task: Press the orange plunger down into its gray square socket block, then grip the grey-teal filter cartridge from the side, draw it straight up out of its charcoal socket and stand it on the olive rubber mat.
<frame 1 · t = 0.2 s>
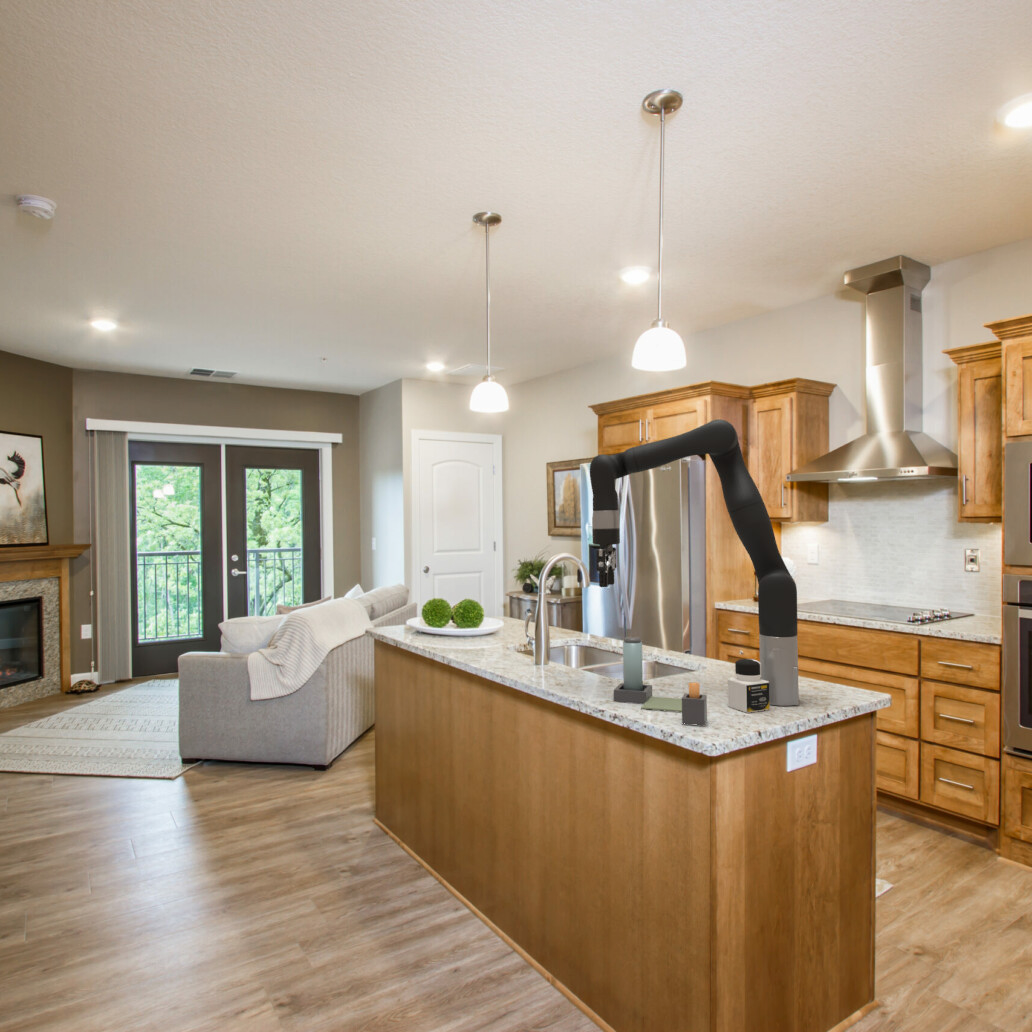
hand: (607, 585, 202), 29 cm above the worktop, tool pointing down, fingers open, 8 cm apart
gray square socket block: (694, 722, 169), on the worktop
filter cartridge: (633, 699, 192), resting in cartridge socket
plunger: (694, 695, 169), point 6 cm above the worktop, slide at 0.0 cm
rubber mat: (669, 705, 185), on the worktop
cartridge socket: (633, 698, 192), on the worktop
medicine bottle: (748, 709, 181), on the worktop
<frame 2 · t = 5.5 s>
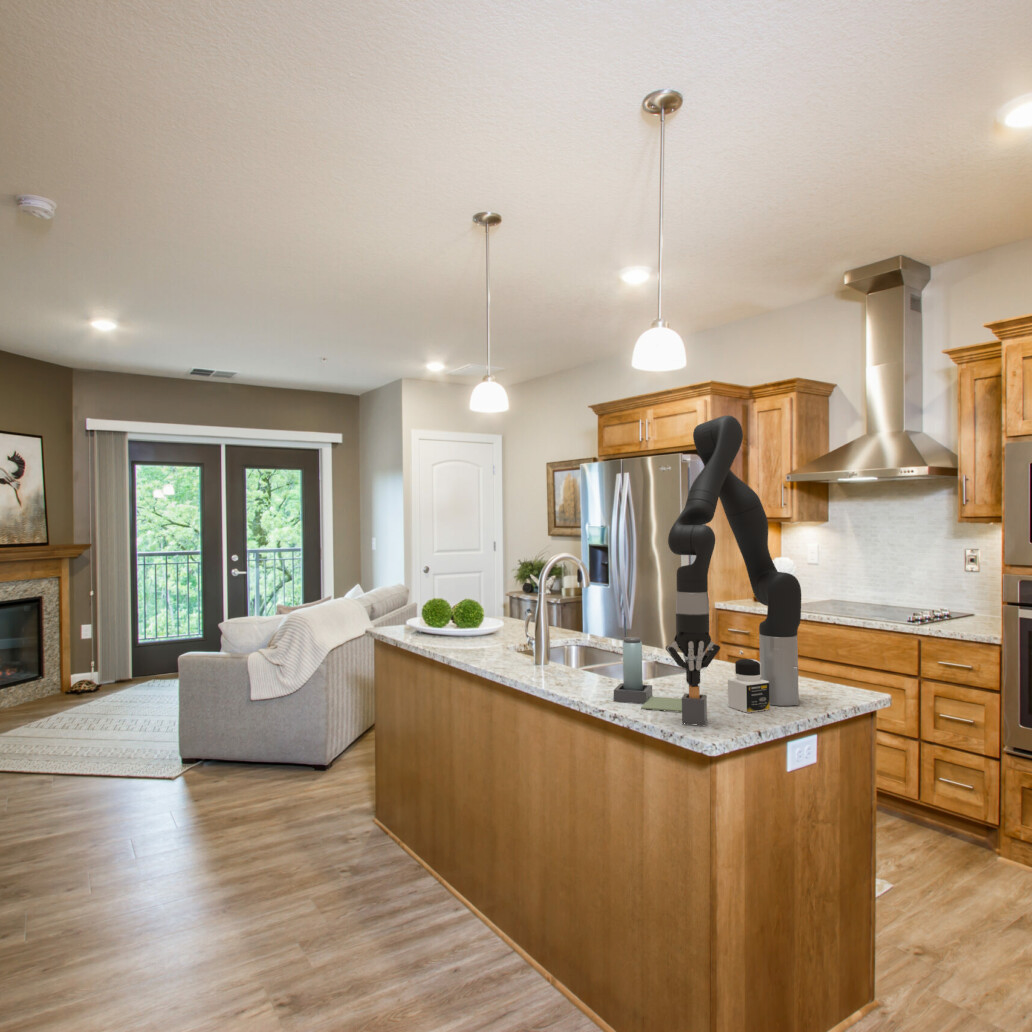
hand: (693, 685, 169), 8 cm above the worktop, tool pointing down, fingers closed
plunger: (694, 698, 169), point 6 cm above the worktop, slide at 0.6 cm, touching gripper
everything else where it was.
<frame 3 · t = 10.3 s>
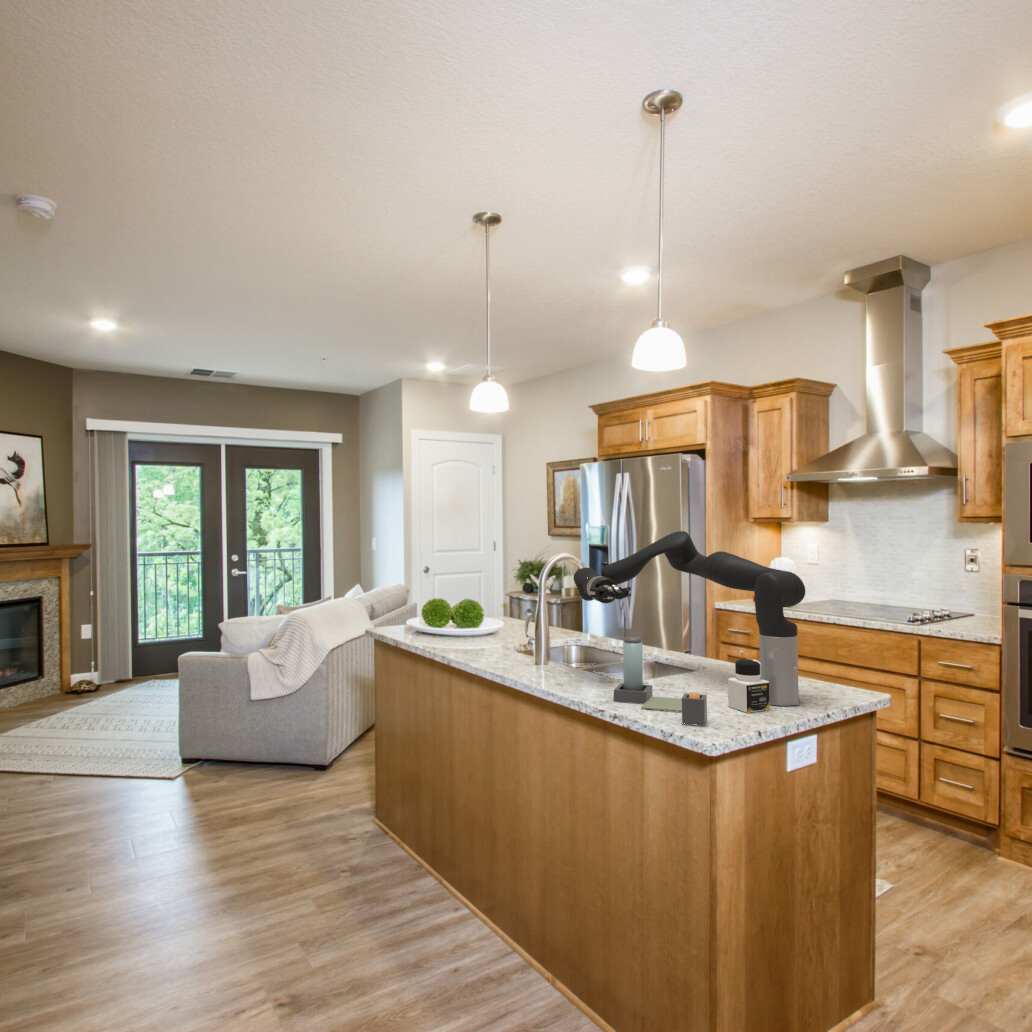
hand: (620, 595, 202), 26 cm above the worktop, tool horizontal, fingers closed
plunger: (694, 705, 169), point 4 cm above the worktop, slide at 2.3 cm
everything else where it was.
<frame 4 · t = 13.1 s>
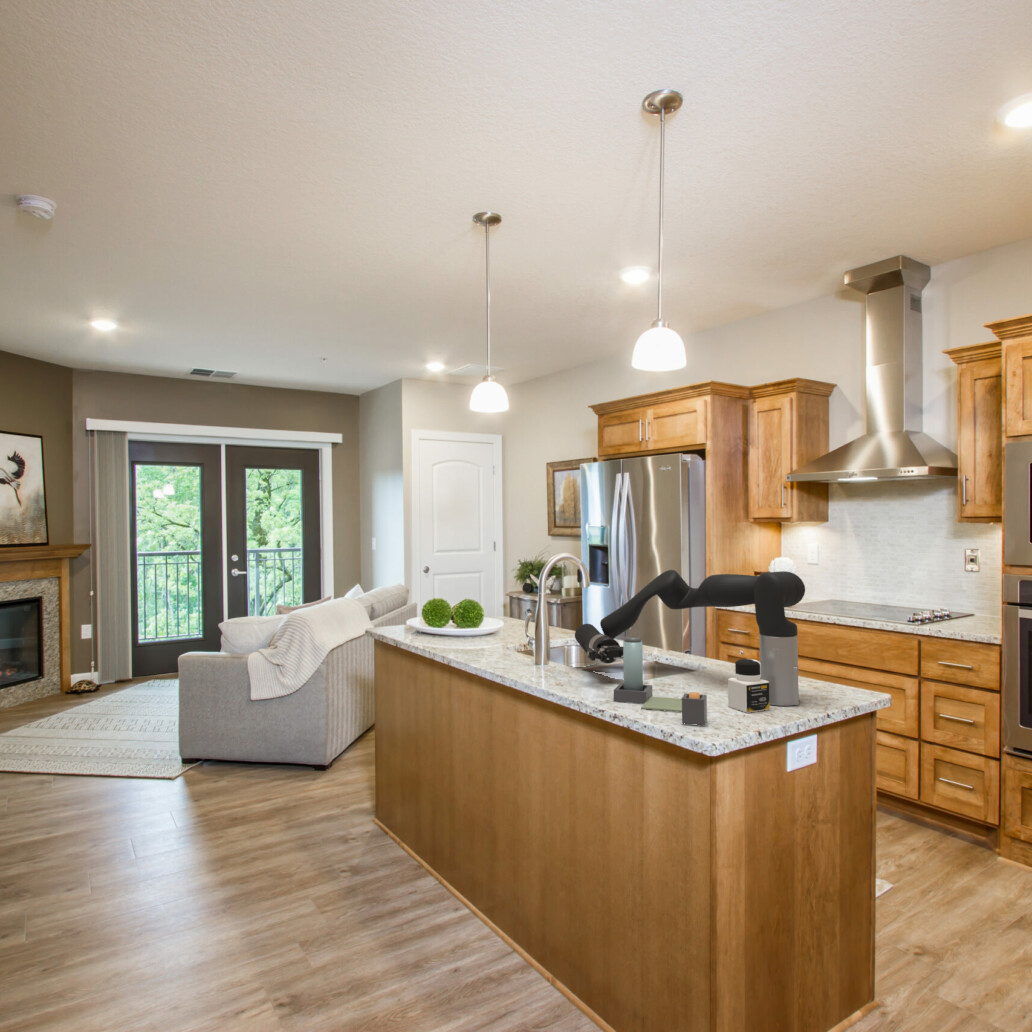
hand: (620, 657, 203), 9 cm above the worktop, tool horizontal, fingers open, 8 cm apart
nothing on the worktop moved.
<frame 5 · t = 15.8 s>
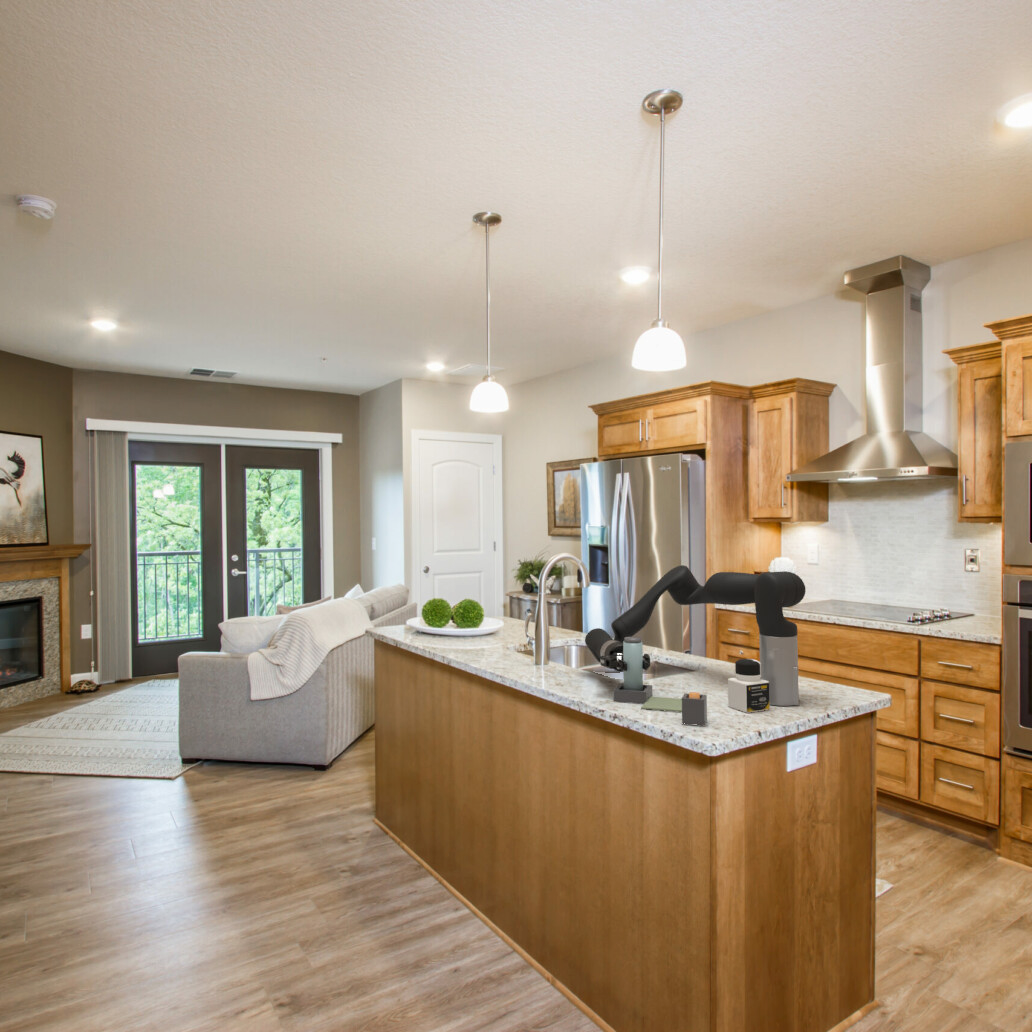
hand: (635, 666, 190), 9 cm above the worktop, tool horizontal, fingers closed on filter cartridge, 5 cm apart
filter cartridge: (633, 698, 192), resting in cartridge socket, touching gripper
everything else where it was.
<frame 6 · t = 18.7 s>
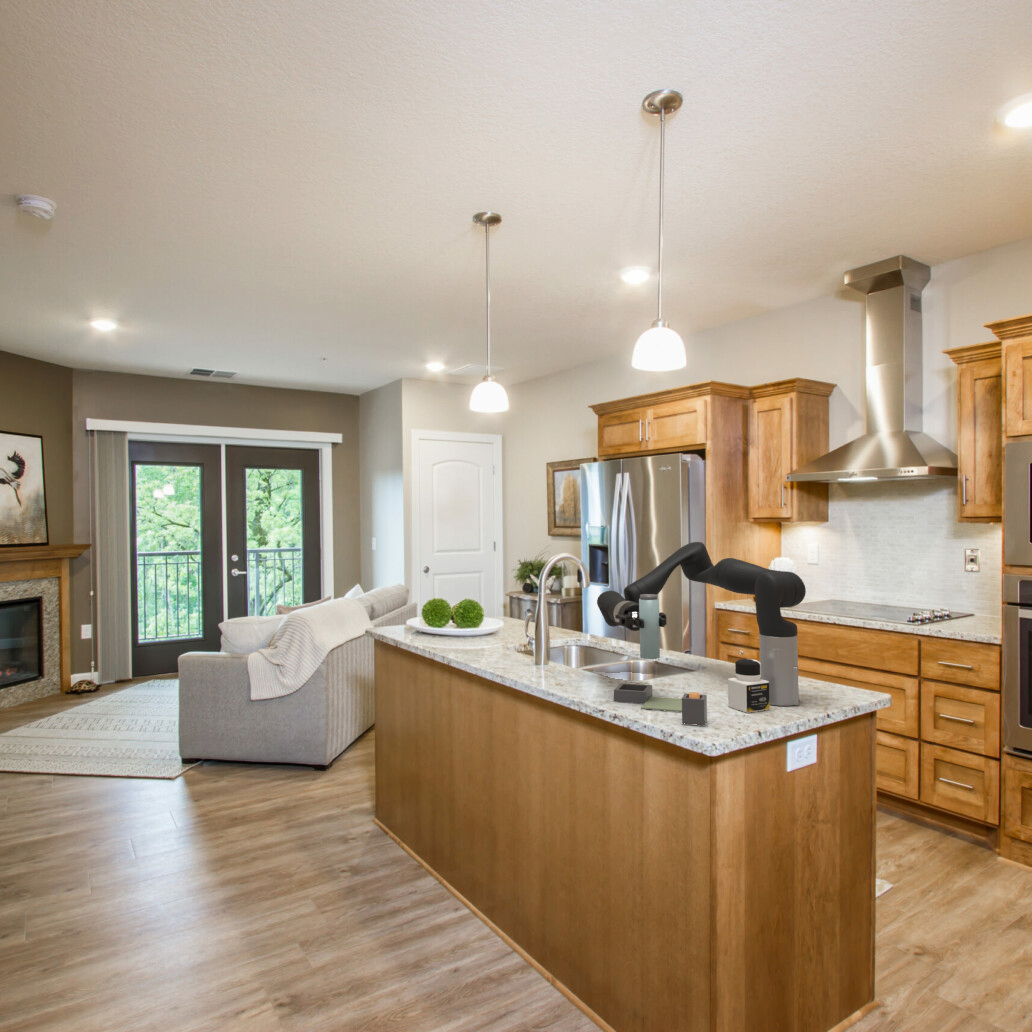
hand: (652, 623, 186), 21 cm above the worktop, tool horizontal, fingers closed on filter cartridge, 5 cm apart
filter cartridge: (650, 657, 188), point 12 cm above the worktop, touching gripper
everything else where it was.
when the fingers open (11 cm above the worktop, at t = 21.3 s): filter cartridge drops 2 cm, resting on rubber mat.
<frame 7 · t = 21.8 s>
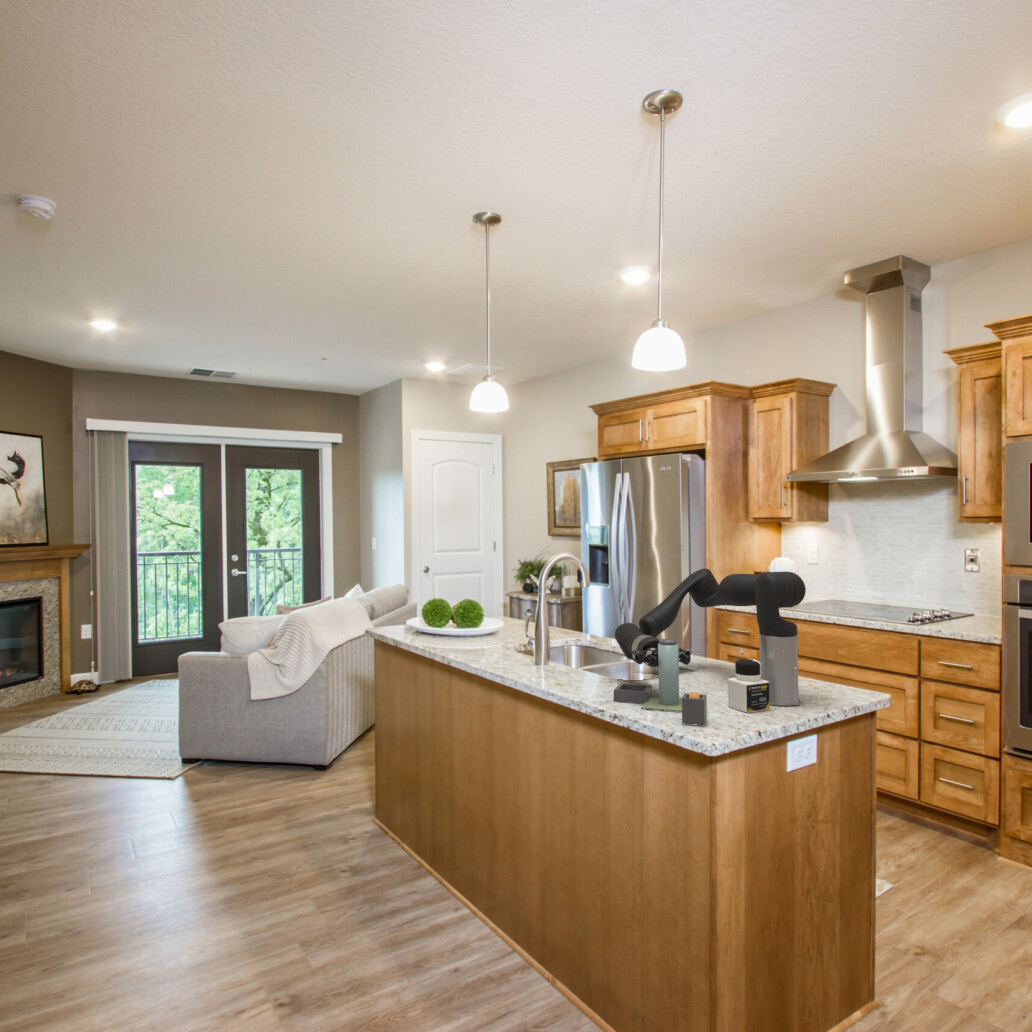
hand: (671, 661, 183), 12 cm above the worktop, tool horizontal, fingers open, 8 cm apart
filter cartridge: (669, 703, 185), point 1 cm above the worktop, touching rubber mat
everything else where it was.
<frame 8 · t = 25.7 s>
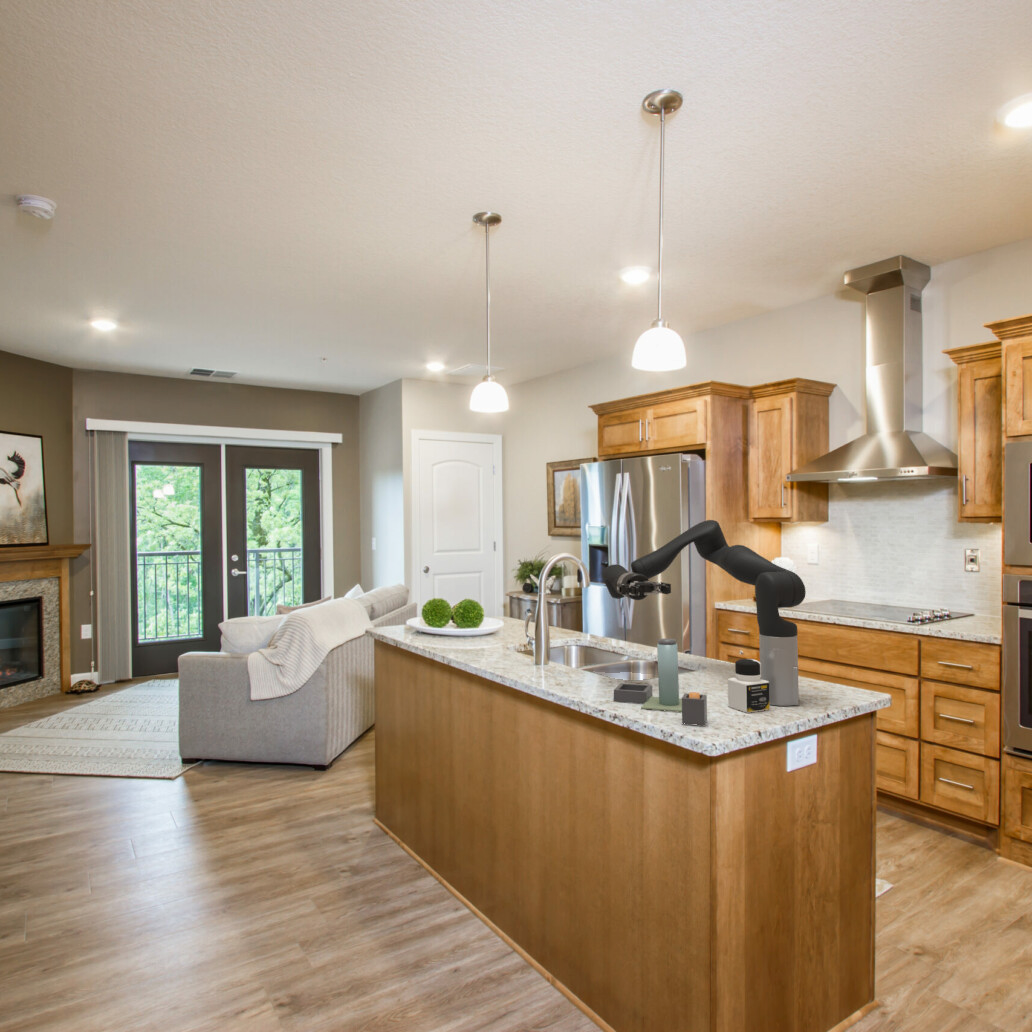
hand: (652, 590, 196), 28 cm above the worktop, tool horizontal, fingers open, 8 cm apart
nothing on the worktop moved.
at the end: plunger slide at 2.3 cm; filter cartridge inside the target area on the rubber mat (0.1 cm from its centre), point 0.6 cm above the rubber mat's base; filter cartridge tilted 1° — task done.
